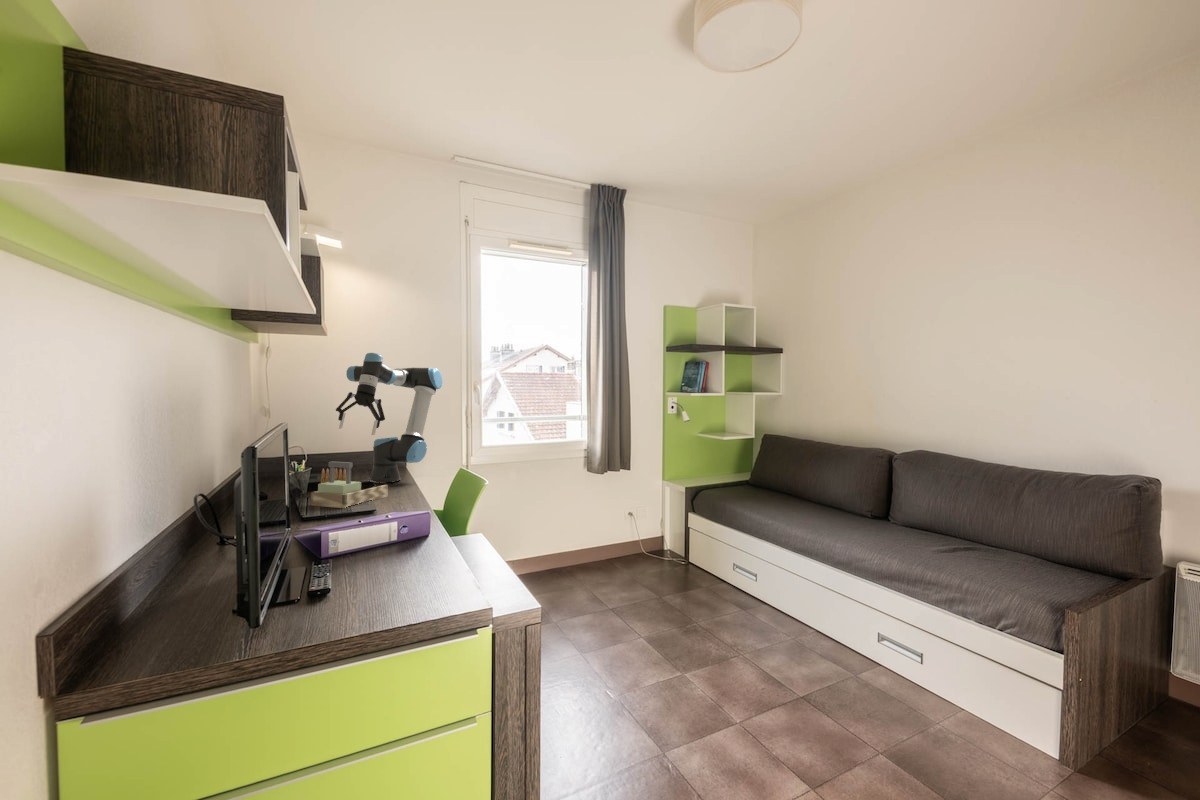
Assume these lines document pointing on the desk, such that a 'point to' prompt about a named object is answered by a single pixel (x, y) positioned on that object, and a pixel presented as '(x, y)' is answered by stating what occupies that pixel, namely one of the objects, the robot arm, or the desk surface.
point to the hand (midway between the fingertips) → (357, 431)
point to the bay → (348, 497)
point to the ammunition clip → (326, 479)
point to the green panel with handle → (340, 486)
